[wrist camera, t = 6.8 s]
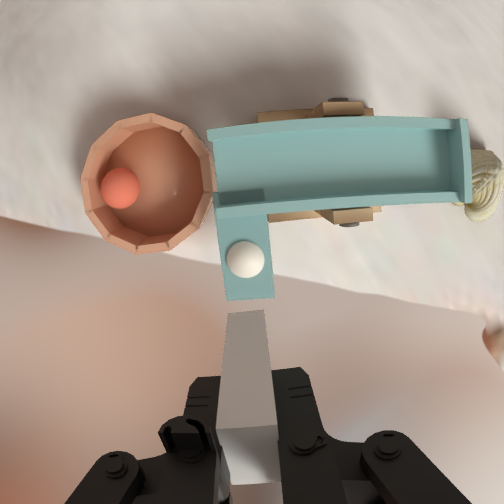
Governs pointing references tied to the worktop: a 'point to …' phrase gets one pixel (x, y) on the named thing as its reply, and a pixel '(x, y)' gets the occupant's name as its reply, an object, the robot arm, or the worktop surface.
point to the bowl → (150, 183)
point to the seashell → (484, 185)
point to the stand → (325, 110)
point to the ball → (120, 188)
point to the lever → (325, 178)
